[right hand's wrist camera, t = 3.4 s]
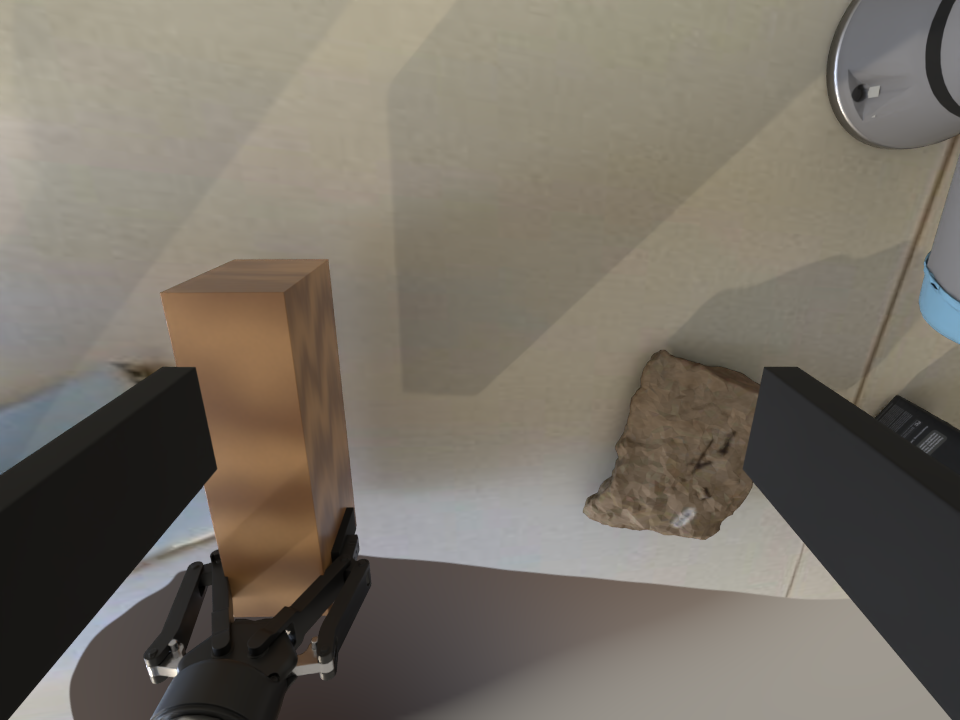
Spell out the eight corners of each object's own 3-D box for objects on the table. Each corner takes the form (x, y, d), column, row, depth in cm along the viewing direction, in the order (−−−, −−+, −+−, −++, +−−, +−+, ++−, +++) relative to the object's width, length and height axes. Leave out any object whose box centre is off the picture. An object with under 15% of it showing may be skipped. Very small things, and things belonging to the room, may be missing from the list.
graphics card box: (830, 527, 63) (1066, 777, 38) (785, 505, 62) (996, 748, 37) (936, 415, 58) (1294, 620, 32) (888, 389, 57) (1221, 579, 31)
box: (233, 259, 47) (159, 292, 36) (328, 259, 47) (283, 292, 36) (279, 526, 58) (233, 617, 47) (356, 525, 58) (329, 615, 47)
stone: (703, 553, 61) (717, 582, 55) (580, 506, 62) (581, 529, 56) (778, 384, 57) (803, 396, 51) (645, 339, 58) (653, 346, 52)
